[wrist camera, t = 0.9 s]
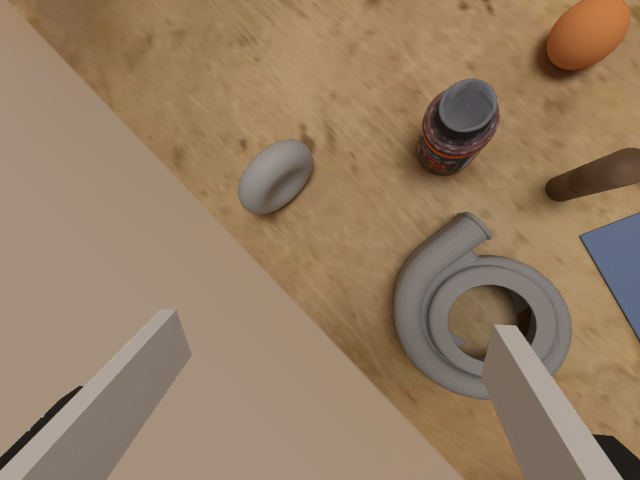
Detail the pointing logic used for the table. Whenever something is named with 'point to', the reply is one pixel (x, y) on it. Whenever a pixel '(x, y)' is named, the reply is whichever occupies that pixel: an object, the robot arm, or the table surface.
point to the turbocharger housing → (454, 279)
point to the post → (597, 176)
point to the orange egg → (587, 33)
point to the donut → (275, 176)
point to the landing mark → (619, 263)
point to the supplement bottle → (458, 126)
